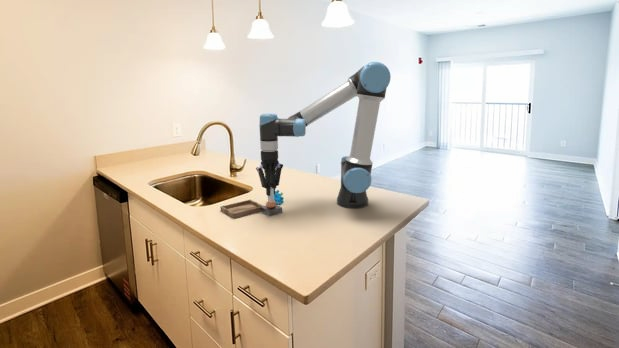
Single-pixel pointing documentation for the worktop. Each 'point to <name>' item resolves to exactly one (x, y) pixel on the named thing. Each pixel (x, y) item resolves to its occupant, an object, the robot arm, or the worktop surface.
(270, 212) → the block
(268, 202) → the button
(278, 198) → the gear
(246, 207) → the brown tray
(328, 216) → the worktop surface
